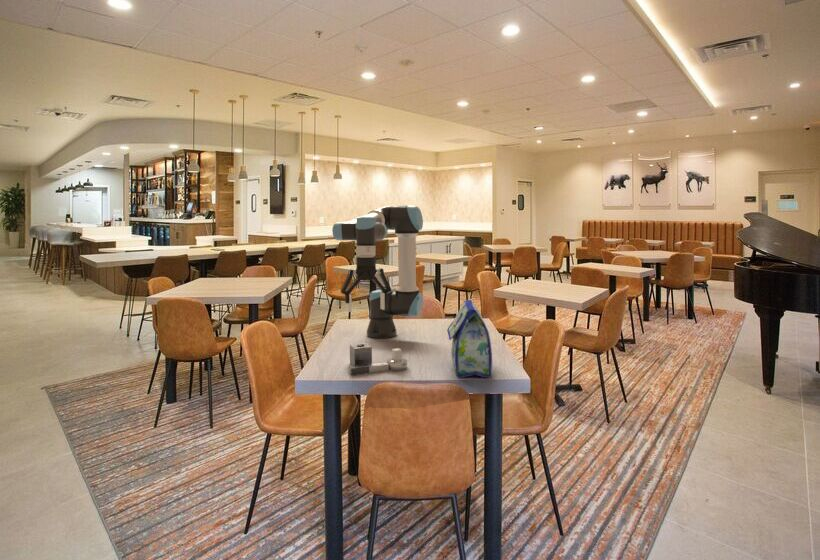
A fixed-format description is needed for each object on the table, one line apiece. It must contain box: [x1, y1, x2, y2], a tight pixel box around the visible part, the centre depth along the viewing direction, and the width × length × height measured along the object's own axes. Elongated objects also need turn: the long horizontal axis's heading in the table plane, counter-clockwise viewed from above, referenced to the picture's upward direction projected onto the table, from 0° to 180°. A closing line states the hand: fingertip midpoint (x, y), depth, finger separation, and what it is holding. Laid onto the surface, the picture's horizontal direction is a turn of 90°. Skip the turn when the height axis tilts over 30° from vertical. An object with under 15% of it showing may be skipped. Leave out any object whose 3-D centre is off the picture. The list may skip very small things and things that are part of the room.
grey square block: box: [349, 342, 373, 366], centre depth 190 cm, size 7×7×8 cm
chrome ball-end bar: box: [348, 347, 408, 376], centre depth 184 cm, size 8×23×8 cm, turn 113°
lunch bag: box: [447, 299, 493, 378], centre depth 183 cm, size 22×17×26 cm
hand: (366, 310), depth 189 cm, fingers open, 13 cm apart
